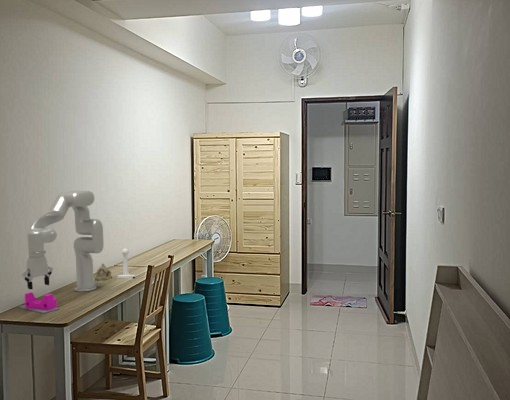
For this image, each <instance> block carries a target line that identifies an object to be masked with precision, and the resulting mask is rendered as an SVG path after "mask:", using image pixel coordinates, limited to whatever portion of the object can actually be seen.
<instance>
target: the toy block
mask: <svg viewBox="0 0 510 400" xmlns="http://www.w3.org/2000/svg"><path fill="white" fill-rule="evenodd" d="M57 303H58V299H57V298H54V294H53V293H47V294H44V295H43V297H42V299H37V298H36V297H35V295H34V292H32V291H31V292H27V293H26V292H25V293H24V305H25V308H29V309H39V310H51V309H54V308H58V304H57Z"/></svg>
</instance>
